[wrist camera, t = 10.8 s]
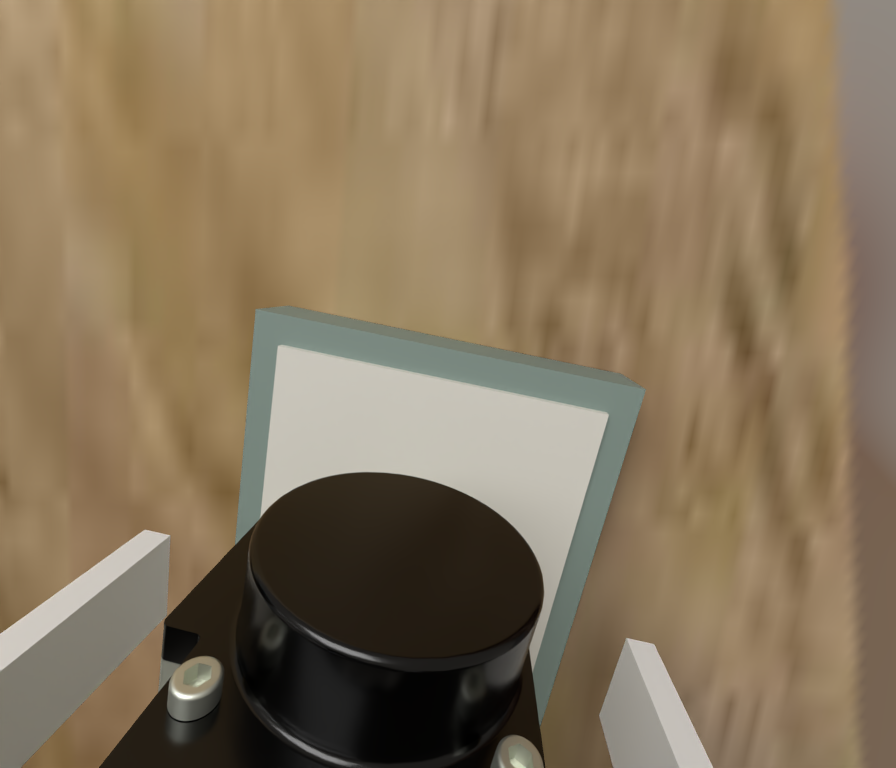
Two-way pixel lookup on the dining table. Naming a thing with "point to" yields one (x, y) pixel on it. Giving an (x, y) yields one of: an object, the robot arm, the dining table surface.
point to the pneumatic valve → (353, 639)
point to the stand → (443, 437)
